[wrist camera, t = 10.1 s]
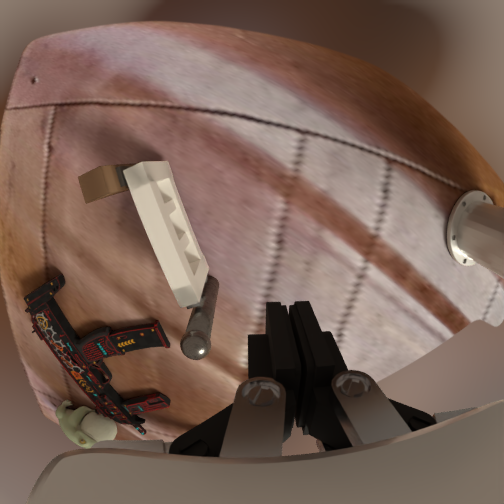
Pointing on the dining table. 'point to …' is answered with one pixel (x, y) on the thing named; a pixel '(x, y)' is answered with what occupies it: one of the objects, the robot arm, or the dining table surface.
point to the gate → (168, 230)
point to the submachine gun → (95, 354)
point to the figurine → (85, 425)
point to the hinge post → (201, 323)
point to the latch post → (103, 182)
